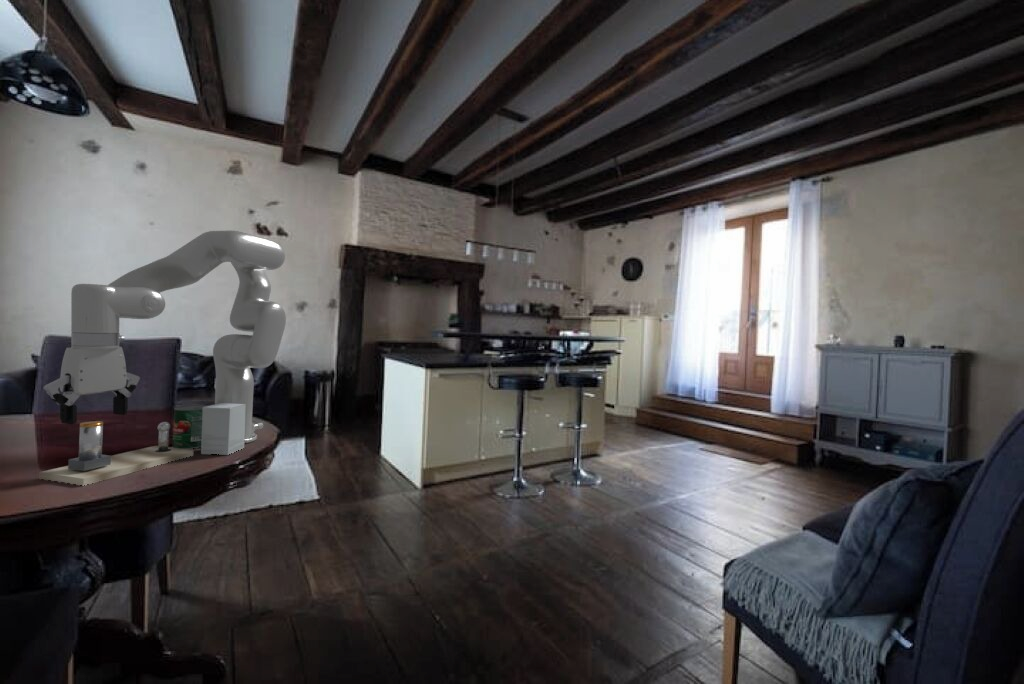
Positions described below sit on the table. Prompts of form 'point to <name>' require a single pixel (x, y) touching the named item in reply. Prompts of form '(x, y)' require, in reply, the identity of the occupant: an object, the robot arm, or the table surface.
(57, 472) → the hole plate
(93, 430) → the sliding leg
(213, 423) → the supplement box
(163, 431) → the fixed leg
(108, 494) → the table surface
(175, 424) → the canned tomato
